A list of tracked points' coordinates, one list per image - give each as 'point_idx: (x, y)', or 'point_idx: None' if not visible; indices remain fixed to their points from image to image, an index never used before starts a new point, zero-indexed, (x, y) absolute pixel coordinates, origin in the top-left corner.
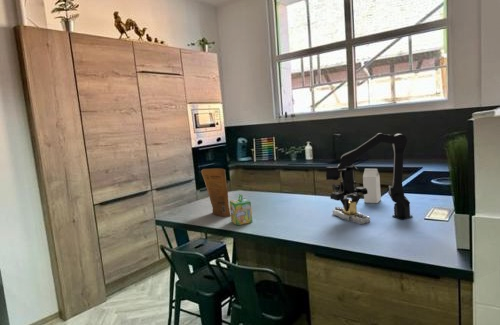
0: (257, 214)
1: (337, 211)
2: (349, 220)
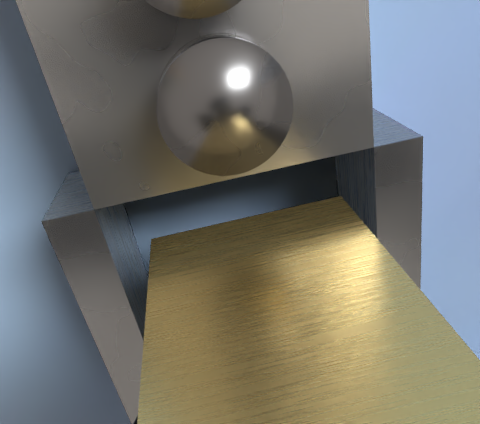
0: None
1: (35, 46)
2: None
